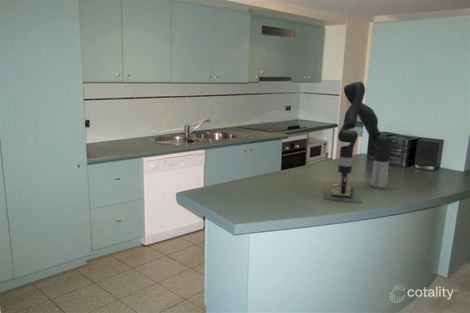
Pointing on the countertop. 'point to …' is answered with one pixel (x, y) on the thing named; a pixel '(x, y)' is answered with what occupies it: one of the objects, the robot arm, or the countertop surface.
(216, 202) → the countertop surface
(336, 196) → the mat
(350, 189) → the maple bar
